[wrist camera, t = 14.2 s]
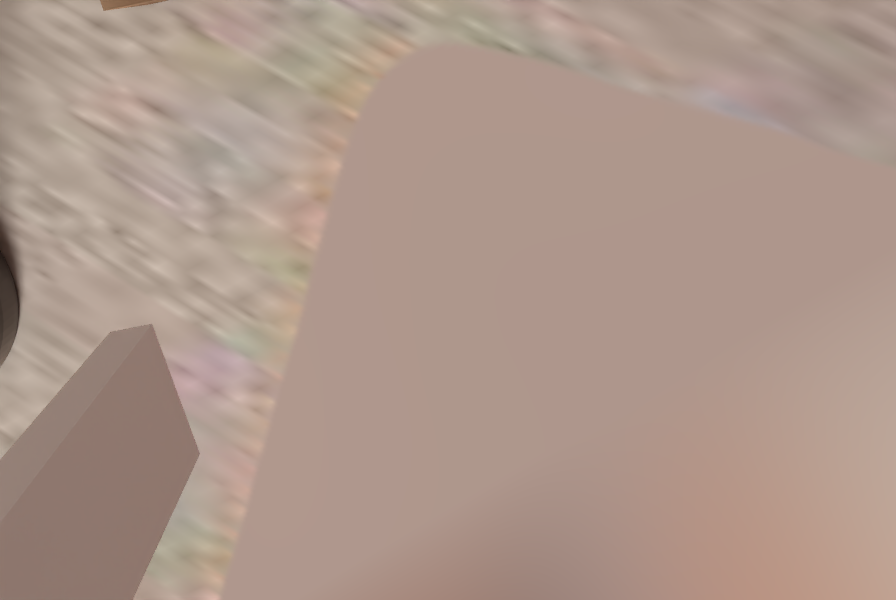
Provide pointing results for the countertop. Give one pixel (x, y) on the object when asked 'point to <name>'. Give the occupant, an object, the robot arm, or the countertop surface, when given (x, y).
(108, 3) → the rack
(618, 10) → the countertop surface
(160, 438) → the robot arm
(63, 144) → the countertop surface
